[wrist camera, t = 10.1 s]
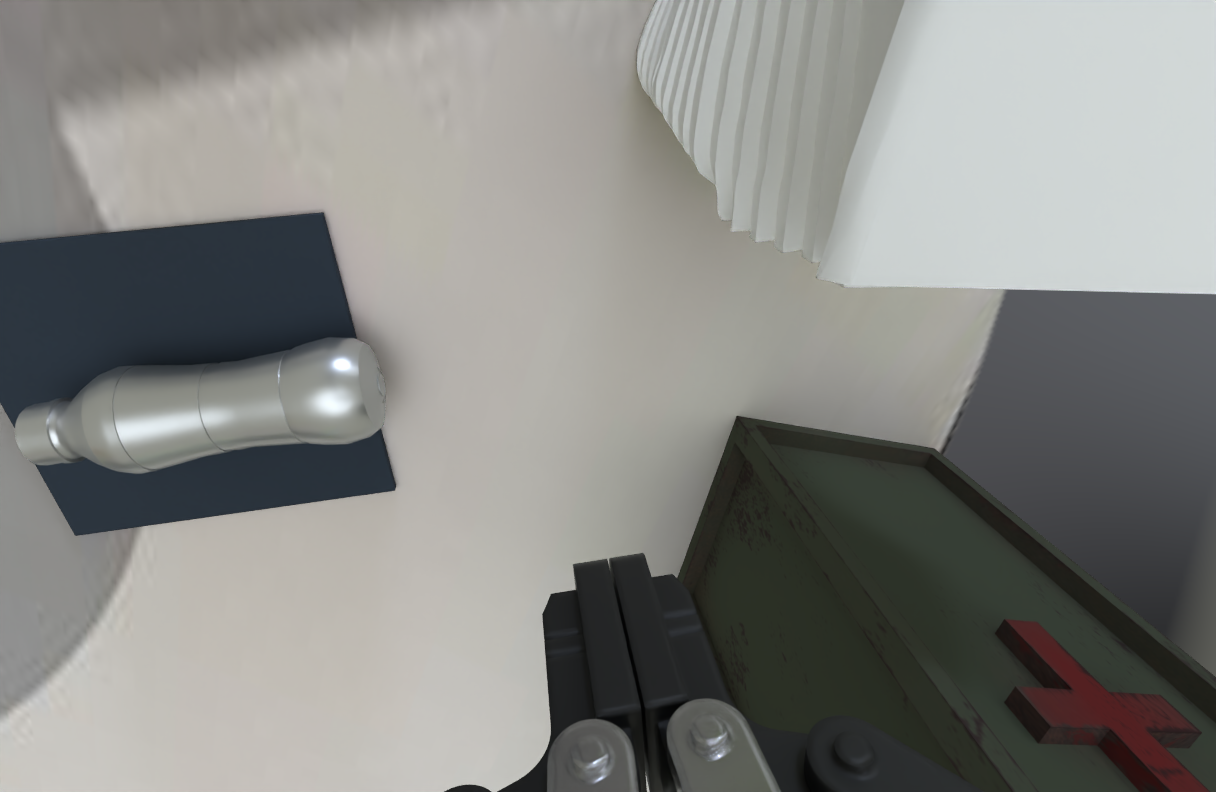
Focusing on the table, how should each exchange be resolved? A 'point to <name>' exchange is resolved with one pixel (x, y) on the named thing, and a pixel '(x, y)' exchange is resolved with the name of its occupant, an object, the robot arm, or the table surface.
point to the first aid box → (933, 621)
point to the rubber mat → (178, 354)
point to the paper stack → (954, 136)
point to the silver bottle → (211, 408)
